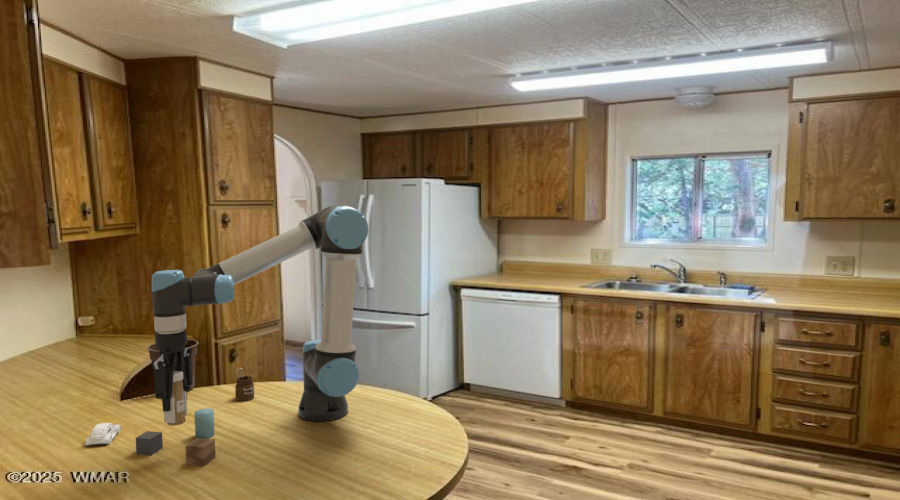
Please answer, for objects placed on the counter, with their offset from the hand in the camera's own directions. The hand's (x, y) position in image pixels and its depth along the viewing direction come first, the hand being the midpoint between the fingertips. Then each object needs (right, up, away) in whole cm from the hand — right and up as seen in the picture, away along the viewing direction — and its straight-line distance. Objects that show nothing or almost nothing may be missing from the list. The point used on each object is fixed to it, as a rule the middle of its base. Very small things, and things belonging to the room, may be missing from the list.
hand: (176, 418), depth 157 cm
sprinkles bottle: (0, -1, 0) cm, 1 cm away
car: (-25, -9, +12) cm, 29 cm away
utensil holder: (+3, -6, +45) cm, 45 cm away
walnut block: (+8, -10, -3) cm, 13 cm away
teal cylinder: (+2, -9, +13) cm, 16 cm away
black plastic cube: (-8, -10, +3) cm, 13 cm away
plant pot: (-25, -5, +54) cm, 60 cm away
